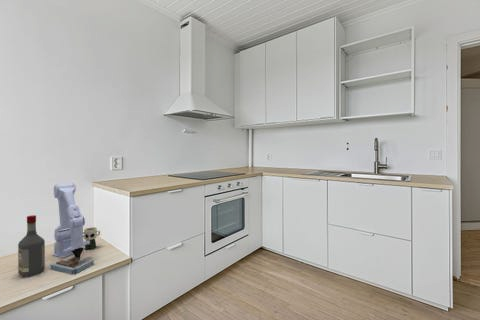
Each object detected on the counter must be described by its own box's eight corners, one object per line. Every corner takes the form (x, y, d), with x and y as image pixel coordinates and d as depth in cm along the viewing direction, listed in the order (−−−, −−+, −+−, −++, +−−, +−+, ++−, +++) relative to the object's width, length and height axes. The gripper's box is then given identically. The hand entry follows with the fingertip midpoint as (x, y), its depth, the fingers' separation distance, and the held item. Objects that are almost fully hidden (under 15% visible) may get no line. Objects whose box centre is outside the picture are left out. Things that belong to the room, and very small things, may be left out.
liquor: (39, 266, 127) (38, 213, 126) (46, 271, 123) (46, 215, 122) (17, 273, 119) (16, 216, 118) (23, 279, 115) (23, 219, 114)
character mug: (79, 251, 147) (79, 231, 146) (82, 247, 153) (82, 228, 153) (99, 249, 151) (99, 229, 151) (100, 245, 158) (100, 226, 157)
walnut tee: (70, 261, 133) (70, 255, 133) (82, 264, 131) (82, 258, 130) (56, 268, 125) (56, 262, 125) (68, 271, 123) (68, 264, 123)
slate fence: (50, 269, 125) (50, 264, 125) (71, 259, 136) (71, 255, 136) (73, 274, 120) (73, 270, 120) (93, 264, 131) (93, 260, 131)
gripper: (69, 243, 124) (69, 268, 124) (93, 234, 137) (93, 256, 138) (60, 241, 126) (60, 266, 126) (84, 232, 139) (84, 254, 140)
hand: (77, 261), depth 132 cm, fingers closed, pressing on walnut tee
